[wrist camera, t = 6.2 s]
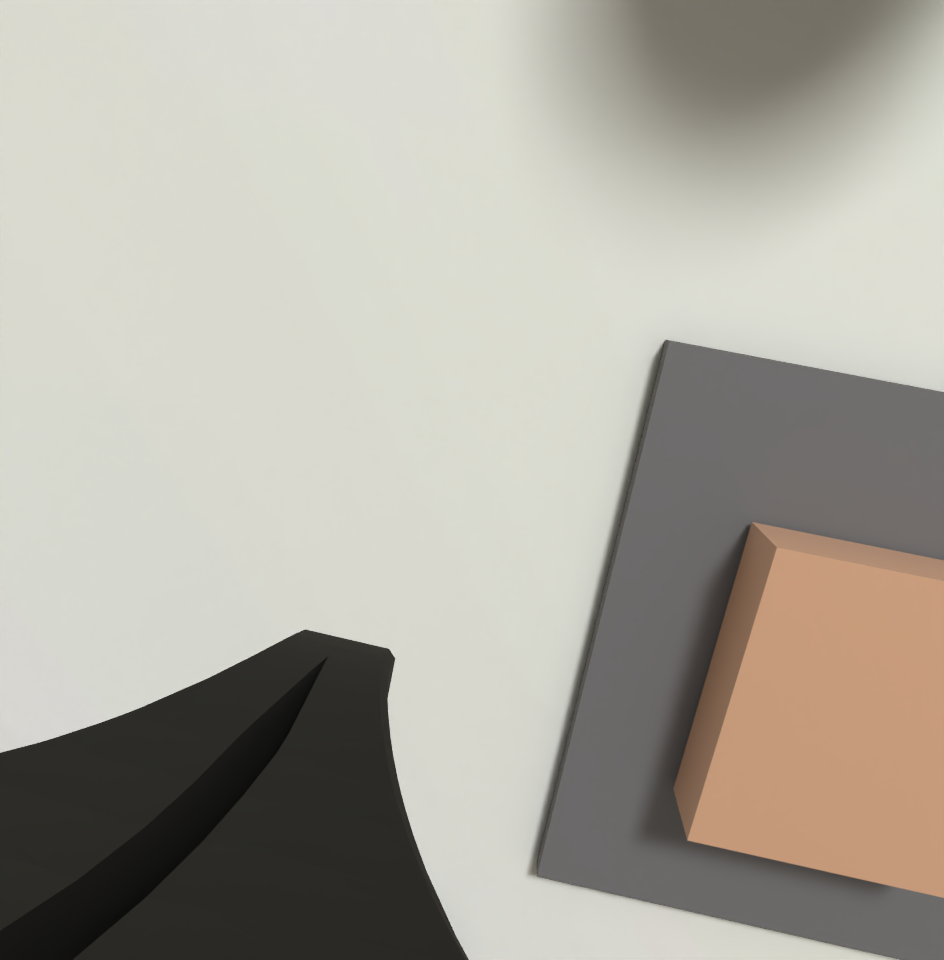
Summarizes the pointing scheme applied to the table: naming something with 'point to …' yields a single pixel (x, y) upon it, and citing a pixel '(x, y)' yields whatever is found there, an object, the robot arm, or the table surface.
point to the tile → (825, 713)
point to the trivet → (699, 615)
